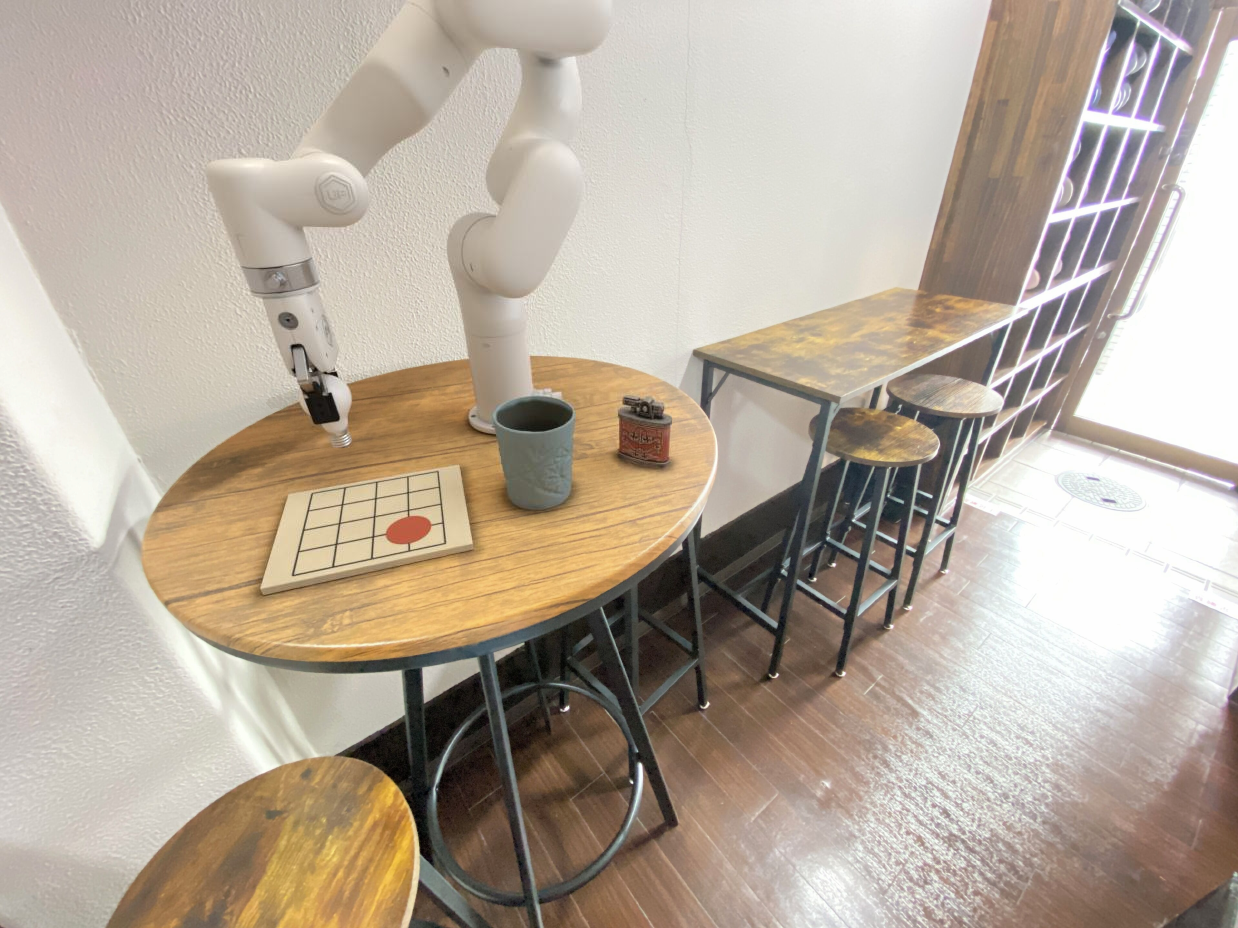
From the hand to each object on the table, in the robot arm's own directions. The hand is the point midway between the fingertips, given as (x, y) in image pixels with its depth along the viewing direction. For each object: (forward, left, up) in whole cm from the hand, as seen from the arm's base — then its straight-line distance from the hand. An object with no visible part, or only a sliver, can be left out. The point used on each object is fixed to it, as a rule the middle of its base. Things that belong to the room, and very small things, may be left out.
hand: (330, 409), depth 74 cm
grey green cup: (-25, +16, -9) cm, 32 cm away
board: (-4, +16, -9) cm, 19 cm away
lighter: (-41, +13, -9) cm, 44 cm away
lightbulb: (0, 0, -6) cm, 6 cm away
